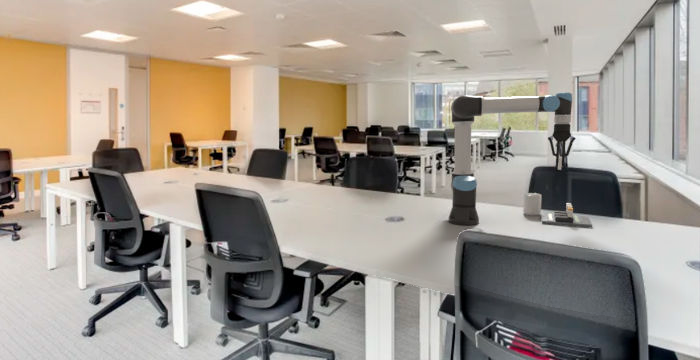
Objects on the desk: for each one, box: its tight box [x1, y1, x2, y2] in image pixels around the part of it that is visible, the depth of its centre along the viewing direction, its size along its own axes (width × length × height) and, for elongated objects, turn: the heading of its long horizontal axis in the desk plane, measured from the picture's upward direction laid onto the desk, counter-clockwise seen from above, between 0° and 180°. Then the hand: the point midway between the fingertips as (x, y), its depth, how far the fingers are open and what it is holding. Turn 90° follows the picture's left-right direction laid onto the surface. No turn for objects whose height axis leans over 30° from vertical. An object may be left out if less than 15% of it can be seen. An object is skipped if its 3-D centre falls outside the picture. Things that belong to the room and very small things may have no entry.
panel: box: [541, 210, 593, 229], centre depth 213 cm, size 22×18×4 cm
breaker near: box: [568, 207, 574, 217], centre depth 207 cm, size 2×3×4 cm
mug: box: [522, 192, 542, 216], centre depth 232 cm, size 12×9×11 cm
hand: (559, 169), depth 215 cm, fingers closed
